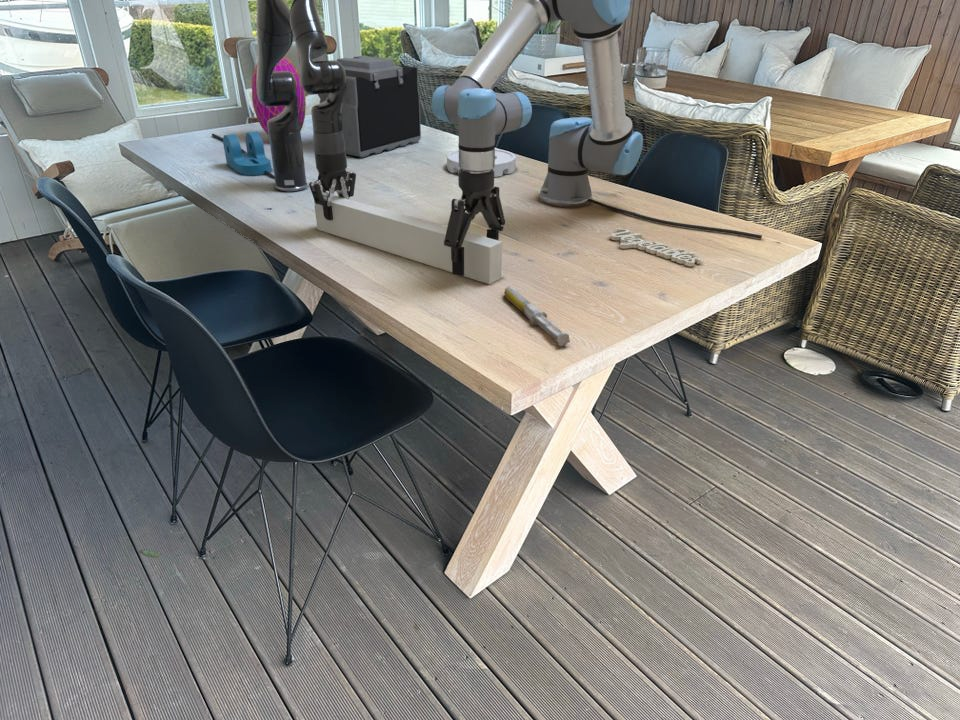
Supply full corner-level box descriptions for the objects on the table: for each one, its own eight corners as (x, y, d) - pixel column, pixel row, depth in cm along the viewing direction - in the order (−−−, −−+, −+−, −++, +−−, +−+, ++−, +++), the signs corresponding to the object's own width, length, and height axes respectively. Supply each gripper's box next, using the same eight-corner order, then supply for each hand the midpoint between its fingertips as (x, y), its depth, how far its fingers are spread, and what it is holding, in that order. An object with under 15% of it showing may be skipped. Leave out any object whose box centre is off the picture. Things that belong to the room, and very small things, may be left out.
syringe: (499, 294, 146) (500, 282, 144) (516, 291, 147) (516, 279, 146) (552, 349, 126) (553, 336, 125) (570, 345, 127) (571, 332, 126)
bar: (501, 278, 154) (502, 241, 149) (489, 284, 151) (490, 247, 146) (330, 225, 183) (326, 193, 178) (317, 229, 180) (313, 197, 175)
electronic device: (383, 133, 276) (378, 52, 261) (425, 141, 265) (422, 56, 250) (314, 150, 251) (304, 61, 235) (358, 160, 240) (350, 67, 224)
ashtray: (449, 158, 243) (449, 147, 241) (514, 159, 242) (515, 148, 240) (444, 176, 223) (444, 164, 221) (515, 178, 222) (516, 165, 220)
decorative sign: (596, 235, 174) (621, 227, 180) (596, 239, 175) (620, 230, 181) (684, 266, 157) (708, 256, 163) (684, 270, 158) (708, 260, 164)
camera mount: (227, 164, 233) (221, 132, 227) (257, 160, 238) (252, 129, 233) (244, 176, 220) (239, 143, 215) (276, 172, 225) (271, 139, 220)
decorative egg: (293, 132, 276) (283, 50, 261) (319, 140, 264) (310, 56, 249) (249, 139, 265) (236, 54, 250) (273, 148, 253) (261, 60, 238)
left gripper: (341, 141, 174) (347, 207, 183) (296, 152, 165) (305, 221, 173) (362, 146, 171) (367, 213, 179) (317, 157, 161) (325, 227, 169)
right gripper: (495, 154, 153) (493, 246, 164) (424, 178, 136) (427, 278, 147) (523, 160, 149) (519, 254, 160) (454, 185, 133) (454, 287, 144)
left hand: (336, 216), depth 176 cm, fingers closed on bar, 4 cm apart
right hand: (475, 266), depth 154 cm, fingers open, 12 cm apart
